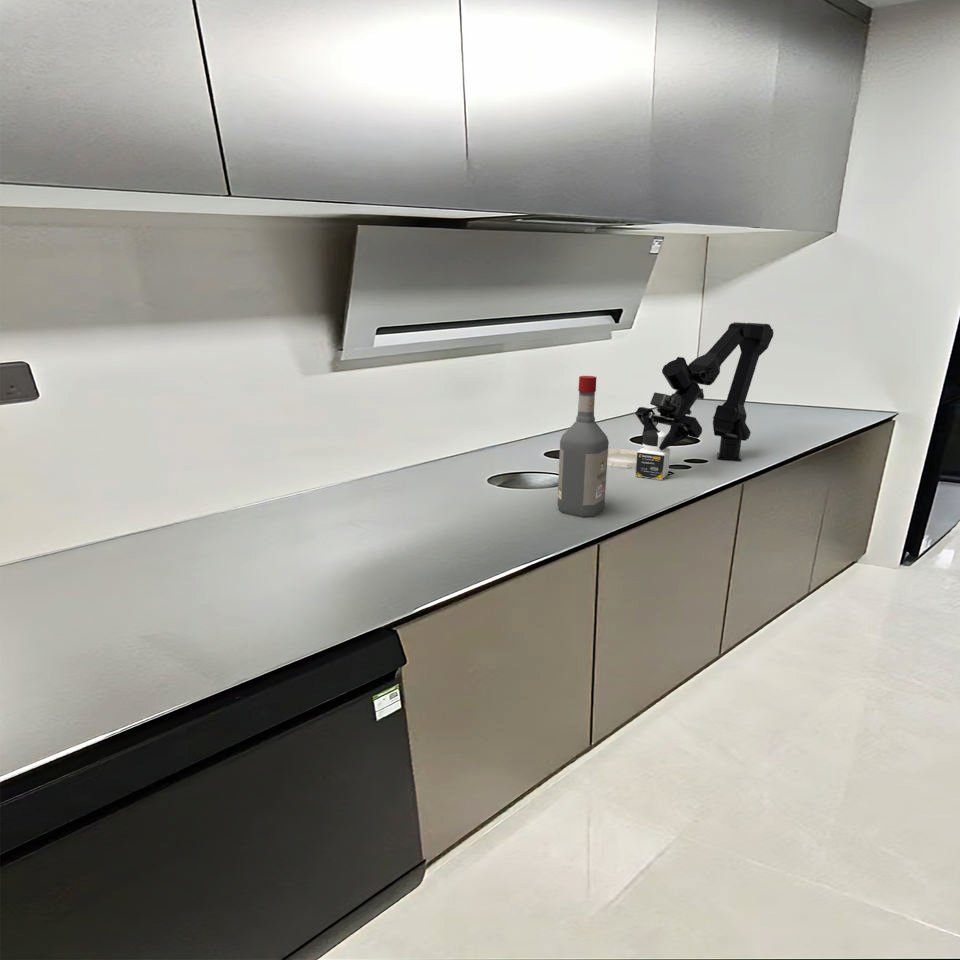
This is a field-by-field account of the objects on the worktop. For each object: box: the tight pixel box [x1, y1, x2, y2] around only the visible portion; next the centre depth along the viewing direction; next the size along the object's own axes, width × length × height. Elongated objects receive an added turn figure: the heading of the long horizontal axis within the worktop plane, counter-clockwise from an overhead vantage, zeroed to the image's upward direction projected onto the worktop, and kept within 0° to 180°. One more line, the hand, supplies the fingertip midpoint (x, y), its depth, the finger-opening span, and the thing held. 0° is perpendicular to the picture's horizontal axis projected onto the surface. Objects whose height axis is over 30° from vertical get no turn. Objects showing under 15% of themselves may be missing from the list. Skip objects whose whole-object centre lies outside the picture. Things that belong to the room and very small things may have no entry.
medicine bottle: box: [635, 430, 671, 481], centre depth 175 cm, size 7×7×12 cm
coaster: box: [607, 448, 638, 467], centre depth 191 cm, size 16×16×2 cm
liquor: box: [557, 375, 610, 518], centre depth 146 cm, size 9×9×30 cm
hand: (650, 446), depth 174 cm, fingers closed on medicine bottle, 6 cm apart
